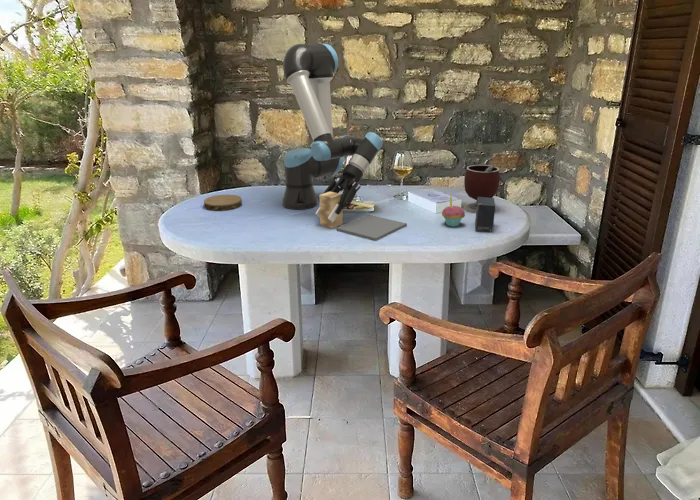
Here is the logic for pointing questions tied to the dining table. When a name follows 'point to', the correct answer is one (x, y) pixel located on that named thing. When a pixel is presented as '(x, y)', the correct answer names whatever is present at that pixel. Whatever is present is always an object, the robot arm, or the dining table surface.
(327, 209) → the oak block
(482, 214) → the small box
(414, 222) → the dining table surface
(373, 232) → the mat
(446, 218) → the cupcake
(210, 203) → the wood slice
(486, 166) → the mate gourd
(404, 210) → the dining table surface
